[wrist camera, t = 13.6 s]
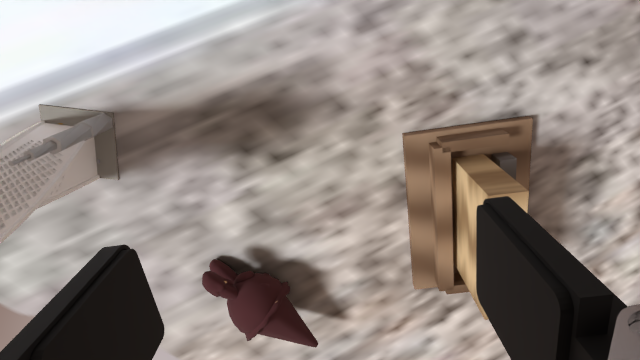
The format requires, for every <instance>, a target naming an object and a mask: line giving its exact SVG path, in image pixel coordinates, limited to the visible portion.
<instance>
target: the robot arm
mask: <svg viewBox="0 0 640 360" xmlns="http://www.w3.org/2000/svg"><path fill="white" fill-rule="evenodd" d="M476 291H477V296H478V300H479V302H480V304H481V306H482V308H483V310H484V312H485V313H486V315H487V317H488V319H489V320H490V322H491V324H492V326H493V328H494V329H495V331H496V333H497V335H498V337H499V338H500V340H501V342H502V344H503V346H504V347H505V349H506V351H507V353H508V355H509V356H510V358H511V360H640V304H638V305H632V306H628V307H627V306H626V305H625V304H624V303H623V302H622V301H621V300H620V299H619V298H618V297H617V296H616V295H615V294H614V293H612V292H611V291H610V290H609V289H608V288H607V287H606V286H605V285H604V284H603V283H602V282H601V281H600V280H599V279H597V278H596V277H595V276H594V275H593V274H592V273H591V272H590V271H589V270H588V269H587V268H586V267H585V266H584V265H583V264H581V263H580V262H579V261H578V260H577V259H576V258H575V257H574V256H573V255H572V254H571V253H570V252H569V251H568V250H566V249H565V248H564V247H563V246H562V245H561V244H560V243H558V242H557V241H556V240H555V239H554V238H553V237H552V236H551V235H550V234H549V233H548V232H547V231H546V230H545V229H543V228H542V227H541V226H540V225H539V224H538V223H537V222H536V221H535V220H534V219H533V218H532V217H531V216H530V215H528V214H527V213H526V212H525V211H524V210H523V209H522V208H521V207H520V206H519V205H518V204H517V203H516V202H515V201H514V200H512V199H511V198H510V197H509V196H504V197H496V198H488V199H485V200H484V202H483V205H478V206H477V211H476ZM163 336H164V324H163V321H162V319H161V316H160V314H159V311H158V308H157V306H156V303H155V300H154V298H153V295H152V292H151V290H150V287H149V284H148V282H147V279H146V276H145V274H144V271H143V268H142V266H141V263H140V260H139V258H138V255H137V253H136V251H135V250H134V249H130V248H129V247H128V246H127V245H119V246H111V247H104V248H102V249H101V250H100V251H99V252H98V253H97V254H96V255H95V256H94V257H93V258H92V259H91V260H90V261H89V262H88V263H87V264H86V265H85V266H84V267H83V268H82V269H81V270H80V271H79V272H78V273H77V274H76V275H75V276H74V277H73V278H72V279H71V280H70V282H69V283H68V284H67V285H66V286H65V287H64V288H63V289H62V290H61V291H60V292H59V293H58V294H57V295H56V296H55V297H54V298H53V299H52V300H51V301H50V302H49V303H48V304H47V305H46V306H45V307H44V308H43V309H42V310H41V311H40V312H39V313H38V314H37V315H36V316H35V317H34V318H33V319H32V320H31V321H30V323H28V324H27V326H25V327H24V329H22V331H21V332H20V333H19V334H18V335H17V336H16V337H15V338H14V339H13V340H12V341H11V342H10V343H9V344H8V345H7V346H6V347H5V348H4V349H3V350H2V351H1V352H0V360H152V358H153V356H154V355H155V353H156V351H157V349H158V347H159V345H160V343H161V341H162V339H163Z"/></svg>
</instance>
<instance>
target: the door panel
mask: <svg viewBox="0 0 640 360" xmlns="http://www.w3.org/2000/svg"><path fill="white" fill-rule="evenodd" d="M452 165H453V262H454V264H455V266H456V267H457V269H458V271H459V273H460V275H461V277H462V278H463V280H464V282H465V284H466V286H467V288H468V290H469V291H470V293H471V295H472V297H473V299H474V301H475V302H476V304H477V306H478V308H479V310H480V312H481V313H482V315H483V317H484V319H485V320H487V319H488V317H487V315H486V313H485V312H484V310H483V308H482V306H481V304H480V302H479V300H478V296H477V291H476V211H477V206H478V205H483V202H484V200H485V199H488V198H496V197H504V196H509V197H510V198H511V199H512V200H514V201H515V202H516V203H517V204H518V205H519V206H520V207H521V208H522V209H523V210H524V211H525V212H526V213H527V210H528V196H529V191H528V190H527V189H526V188H524V187H523V186H522V185H521V184H519V183H518V182H517V181H516V180H515V179H513V178H512V177H511V176H510V175H509V174H507V173H506V172H505V171H504V170H502V169H501V168H500V167H499V166H498V165H496V164H495V163H494V162H493V161H491V160H490V159H489V158H488V157H487V156H485V155H484V154H480V155H472V156H464V157H456V158H452Z"/></svg>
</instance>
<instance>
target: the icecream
mask: <svg viewBox="0 0 640 360" xmlns="http://www.w3.org/2000/svg"><path fill="white" fill-rule="evenodd" d="M209 267H210V270H211V271H207V272H205V273H204V274H203V278H202V284H203V286H204V288H205V289H206V290H207V291H208V292H210V293H211V294H212V295H214V296H216V297H219V296H221V297H223V298H226V299H228V300H227V306H228V311H229V315H230V317H231V319H232V321H233V323H234V325H235V326H236V327H237V328H238V329H239V330H240V332H243V333H245V335H246V338H247V341H249V340H251V339H252V338H253V337H255V336H256V335H257V334H261V335H265V336H269V337H273V338H277V339H282V340H286V341H290V342H294V343H299V344H303V345H307V346H311V347H317V345H318V342H317V340H316V339H315V337H314V336H313V334H312V333H311V332H310V330H309V329H308V327H307V326H306V324H305V323H304V322H303V320H302V319H301V317H300V316H299V314H298V313H297V311H296V310H295V308H294V307H293V305H292V304H291V302H290V301H289V300H288V298H287V297H286V295H288V294H289V292H290V287H289V286H288V282H282V283H281V282H280V281H279V280H278V279H276V278H273V277H271V276H270V275H269V274H268V273H263V274H261V273H253V272H252V271H246V272H242V273H240V274H239V275H237V273H235V272H234V271H233V270H232V269H231V268H230V267H229V266H228V265H226V264H225V263H223V262H221V261H220V260H216V259H214V260H212V261H211V263H210V266H209Z"/></svg>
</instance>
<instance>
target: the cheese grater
mask: <svg viewBox="0 0 640 360" xmlns="http://www.w3.org/2000/svg"><path fill="white" fill-rule="evenodd" d="M39 110H40V117H41V121H40V122H38V123H36V124H34V125H32V126H31V127H29V128H27V129H25V130H23V131H21V132H20V133H18V134H16V135H14V136H13V137H11V138H9V139H8V140H6V141H5V142H3V143H1V144H0V244H1V243H2V242H3V241H4V240H5V239H6V238H7V237H9V236H10V235H11V234H12V233H13V232H14V231H15V230H16V229H17V228H18V227H19V226H20V225H21V224H22V223H23V222H24V221H25V220H26V219H27V218H28V217H29V216H30V215H31V214H32V213H33V212H34V211H35V209H37V208H40V207H42V206H44V205H46V204H48V203H50V202H52V201H54V200H57V199H59V198H61V197H63V196H65V195H67V194H69V193H71V192H73V191H75V190H77V189H79V188H81V187H83V186H85V185H87V184H89V183H91V182H93V181H95V180H97V179H99V178H104V179H113V180H119V175H118V163H117V151H116V139H115V127H114V115H113V113H109V112H100V111H92V110H83V109H74V108H65V107H57V106H48V105H39Z"/></svg>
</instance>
